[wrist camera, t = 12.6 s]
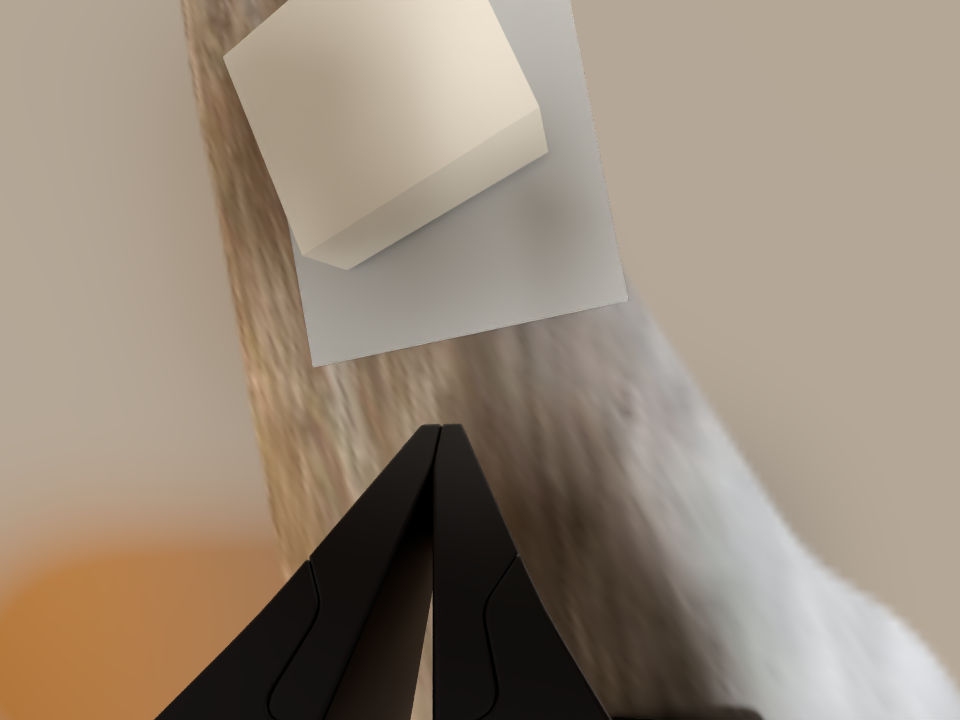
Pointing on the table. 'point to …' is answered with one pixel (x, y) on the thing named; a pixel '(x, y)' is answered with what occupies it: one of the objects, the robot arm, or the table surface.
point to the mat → (488, 229)
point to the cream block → (382, 115)
